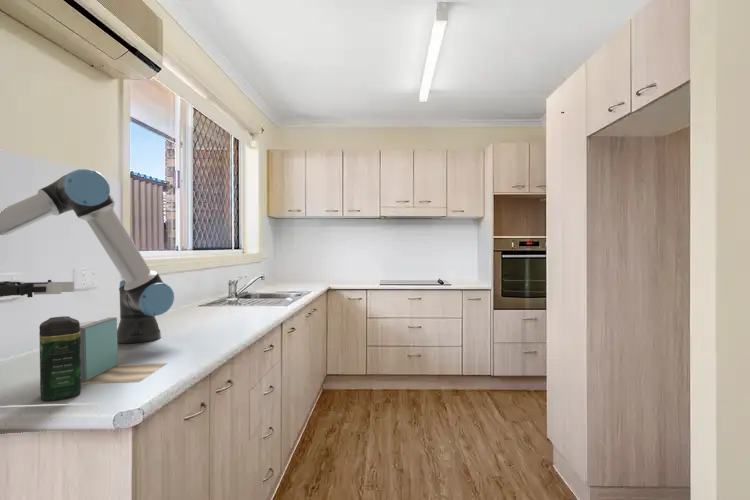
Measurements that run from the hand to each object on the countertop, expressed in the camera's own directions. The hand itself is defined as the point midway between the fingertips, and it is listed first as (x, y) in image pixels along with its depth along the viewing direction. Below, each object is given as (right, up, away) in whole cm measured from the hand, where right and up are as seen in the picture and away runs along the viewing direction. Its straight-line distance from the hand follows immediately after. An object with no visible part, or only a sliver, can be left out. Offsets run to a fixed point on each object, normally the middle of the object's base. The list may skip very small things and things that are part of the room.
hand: (66, 287), depth 121 cm
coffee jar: (+10, -24, -16) cm, 31 cm away
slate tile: (+8, -23, +1) cm, 25 cm away
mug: (-9, -24, +23) cm, 34 cm away
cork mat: (+14, -24, +1) cm, 28 cm away
